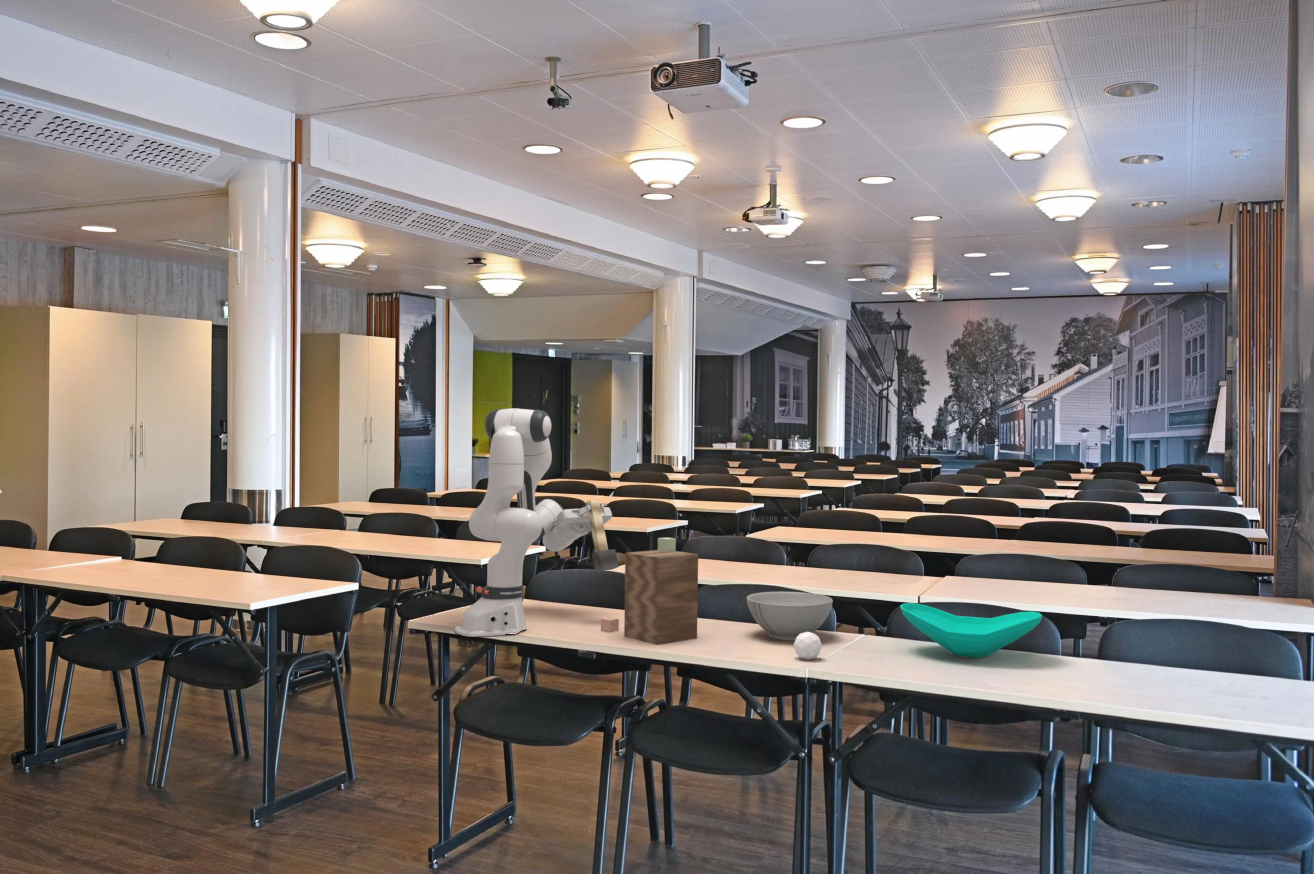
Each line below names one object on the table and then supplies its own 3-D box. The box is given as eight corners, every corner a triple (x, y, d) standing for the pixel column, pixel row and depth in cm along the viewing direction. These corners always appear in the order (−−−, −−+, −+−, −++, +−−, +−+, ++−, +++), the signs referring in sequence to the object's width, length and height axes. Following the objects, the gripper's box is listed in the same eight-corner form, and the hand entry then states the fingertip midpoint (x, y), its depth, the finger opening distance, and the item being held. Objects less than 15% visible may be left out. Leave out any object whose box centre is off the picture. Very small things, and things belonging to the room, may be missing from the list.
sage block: (657, 550, 332) (657, 538, 332) (667, 549, 334) (667, 537, 334) (666, 552, 329) (666, 539, 329) (675, 551, 331) (675, 538, 331)
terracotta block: (601, 618, 334) (610, 620, 331) (609, 617, 337) (618, 618, 335) (600, 631, 334) (610, 632, 331) (609, 629, 337) (618, 631, 335)
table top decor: (1042, 652, 310) (1043, 607, 310) (1040, 672, 284) (1041, 623, 284) (906, 640, 324) (906, 598, 324) (892, 658, 299) (893, 612, 299)
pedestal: (624, 636, 326) (625, 552, 326) (663, 630, 336) (664, 549, 336) (657, 644, 314) (658, 557, 314) (697, 638, 324) (698, 554, 324)
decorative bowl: (732, 639, 323) (732, 600, 323) (765, 625, 347) (765, 589, 347) (815, 648, 311) (816, 608, 311) (843, 633, 334) (844, 595, 334)
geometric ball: (811, 670, 295) (812, 651, 290) (787, 656, 299) (788, 637, 294) (826, 653, 300) (827, 634, 295) (803, 640, 304) (804, 621, 299)
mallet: (581, 502, 351) (588, 499, 348) (598, 501, 355) (605, 498, 352) (594, 571, 345) (601, 568, 342) (611, 569, 350) (618, 566, 347)
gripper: (547, 517, 354) (568, 499, 345) (595, 514, 367) (617, 497, 358) (552, 534, 352) (573, 516, 342) (600, 531, 365) (622, 513, 356)
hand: (596, 506), depth 350 cm, fingers closed on mallet, 3 cm apart
